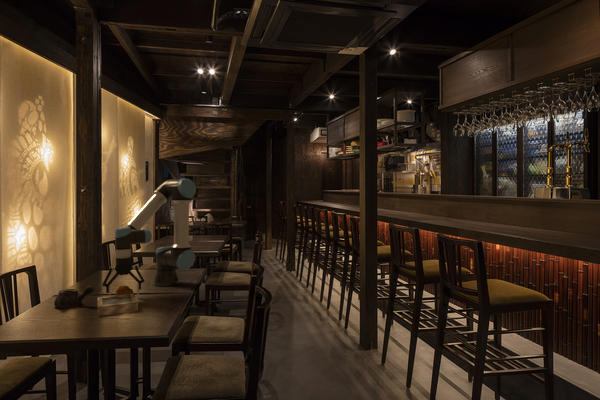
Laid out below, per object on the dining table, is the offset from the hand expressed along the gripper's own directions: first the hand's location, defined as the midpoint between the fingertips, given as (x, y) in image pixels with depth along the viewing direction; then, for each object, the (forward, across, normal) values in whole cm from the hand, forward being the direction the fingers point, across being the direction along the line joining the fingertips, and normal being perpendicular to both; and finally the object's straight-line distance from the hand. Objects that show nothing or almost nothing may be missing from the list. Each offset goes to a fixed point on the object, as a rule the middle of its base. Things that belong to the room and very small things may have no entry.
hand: (124, 297), depth 215 cm
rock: (+2, 0, 0) cm, 2 cm away
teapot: (+2, +23, +1) cm, 23 cm away
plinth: (+1, +4, +16) cm, 17 cm away
